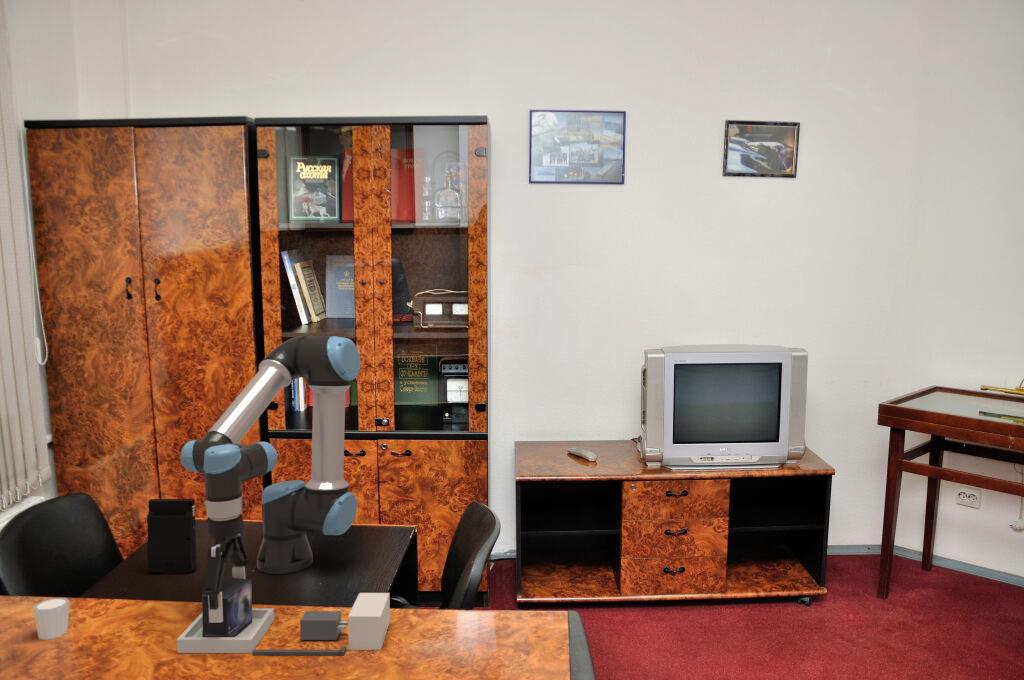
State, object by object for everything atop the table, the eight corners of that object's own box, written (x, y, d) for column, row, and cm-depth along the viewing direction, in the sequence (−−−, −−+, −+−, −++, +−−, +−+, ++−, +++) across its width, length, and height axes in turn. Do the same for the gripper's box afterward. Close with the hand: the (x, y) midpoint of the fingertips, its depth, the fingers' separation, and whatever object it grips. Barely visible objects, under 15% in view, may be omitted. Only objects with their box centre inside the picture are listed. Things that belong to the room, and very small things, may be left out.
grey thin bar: (256, 649, 158) (256, 646, 158) (346, 649, 158) (346, 646, 158) (252, 655, 156) (252, 651, 156) (343, 655, 156) (343, 652, 156)
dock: (206, 620, 172) (205, 608, 172) (274, 620, 172) (273, 608, 172) (177, 652, 157) (176, 639, 157) (251, 653, 157) (251, 639, 157)
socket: (359, 623, 170) (358, 592, 170) (389, 624, 170) (389, 592, 170) (347, 649, 158) (347, 616, 158) (380, 649, 158) (380, 616, 158)
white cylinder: (33, 643, 161) (31, 613, 160) (36, 630, 167) (35, 600, 166) (69, 636, 164) (68, 606, 163) (71, 624, 170) (70, 595, 169)
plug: (306, 630, 167) (305, 611, 166) (349, 630, 167) (348, 611, 166) (300, 639, 162) (300, 620, 162) (344, 640, 162) (344, 620, 162)
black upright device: (198, 568, 203) (196, 498, 201) (191, 575, 198) (189, 503, 196) (154, 569, 202) (151, 498, 201) (146, 575, 198) (143, 503, 196)
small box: (228, 644, 159) (226, 597, 158) (201, 641, 160) (199, 595, 159) (254, 622, 169) (253, 578, 168) (228, 619, 170) (227, 576, 169)
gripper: (229, 498, 175) (232, 583, 177) (182, 536, 150) (187, 634, 152) (260, 497, 175) (263, 583, 177) (219, 535, 150) (223, 634, 152)
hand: (228, 607), depth 164 cm, fingers open, 13 cm apart
